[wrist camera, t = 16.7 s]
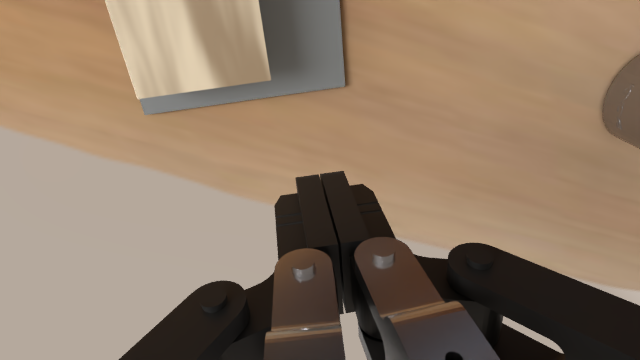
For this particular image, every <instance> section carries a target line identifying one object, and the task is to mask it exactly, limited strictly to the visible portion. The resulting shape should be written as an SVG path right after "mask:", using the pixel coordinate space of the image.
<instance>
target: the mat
mask: <svg viewBox="0 0 640 360" xmlns="http://www.w3.org/2000/svg"><path fill="white" fill-rule="evenodd" d="M258 1H259V7H260V13H261V20H262V26H263V32H264V38H265V45H266V51H267V57H268V64H269V70H270V76H271V80H270V81H263V82H256V83H248V84H241V85H234V86H227V87H220V88H213V89H206V90H199V91H192V92H185V93H178V94H171V95H164V96H156V97H149V98H142V99H140V102H141V105H142V108H143V111H144V114H145V115H148V114H155V113H162V112H169V111H176V110H183V109H190V108H197V107H204V106H211V105H218V104H225V103H232V102H239V101H246V100H253V99H260V98H267V97H274V96H281V95H288V94H295V93H302V92H309V91H316V90H323V89H330V88H337V87H344V86H345V76H344V61H343V46H342V31H341V16H340V1H339V0H258Z"/></svg>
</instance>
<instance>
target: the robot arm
mask: <svg viewBox="0 0 640 360" xmlns="http://www.w3.org/2000/svg"><path fill="white" fill-rule="evenodd" d="M603 120H604V123H605V126H606V128H607V129H608V130H609V132H610V133H611V134H613V135H614V136H616V137H618V138H620V139H622V140H624V141H625V142H627V143H629V144H631V145H633V146H635V147H637V148H639V149H640V54H639V55H638V56H637V57H635V58H634V59H633V60H631V61H630V62H629V63H628V64H627V65H626V66H625V67H624V68H623V69H622V70H621V71H620V73H619V74H618V75H617V77H616V78H615V79H614V81H613V82H612V84H611V86H610V88H609V90H608V92H607V95H606V97H605V100H604V105H603ZM296 186H297V193H296V194H289V195H282V196H280V198H279V199H278V201H277V203H276V204H275V217H276V232H277V246H278V262H277V264H276V266H275V270H274V273H273V274H272V275H271V276H270V277H269V278H268V279H266V280H265V281H263V282H262V283H260V284H258V285H256V286H253V287H251V288H248V289H246V290H244V289H243V288H242V287H241V286H240V285H239V284H236V283H235V282H231V281H216V282H211V283H208V284H206V285H204V286H201V287H200V288H198V289H197V290H195V291H194V292H193V293H192V294H191V295H189V296H188V297H187V298H186V299H185V300H184V301H183V302H182V303H181V304H179V305H178V306H177V307H176V308H175V309H174V310H173V311H172V312H171V313H169V314H168V315H167V316H166V317H165V318H164V319H163V320H162V321H161V322H160V323H159V324H157V325H156V326H155V327H154V328H153V329H152V330H151V331H150V332H149V333H148V334H146V335H145V336H144V337H143V338H142V339H141V340H140V341H139V342H138V343H136V345H134V346H133V347H132V348H131V349H130V350H129V351H128V352H127V353H126V354H124V355H123V356H122V357H121V358H120V359H119V360H345V352H344V344H343V336H342V330H341V324H340V314H344V313H343V303H344V307H345V310H346V313H350V312H356V315H357V319H358V326H359V327H358V329H359V338H360V341H361V343H362V346H363V349H364V352H365V354H366V357H367V360H640V306H639V305H637V304H634V303H632V302H629V301H627V300H624V299H622V298H619V297H617V296H614V295H612V294H609V293H607V292H604V291H602V290H599V289H597V288H594V287H592V286H589V285H587V284H584V283H582V282H580V281H577V280H575V279H572V278H570V277H567V276H565V275H562V274H560V273H557V272H555V271H552V270H550V269H547V268H545V267H542V266H540V265H537V264H535V263H532V262H530V261H527V260H525V259H522V258H520V257H517V256H515V255H513V254H510V253H508V252H505V251H503V250H500V249H498V248H495V247H493V246H490V245H486V244H482V243H465V244H461V245H458V246H456V247H455V248H453V249H452V250H451V251H450V253H449V255H448V259H439V258H427V257H422V256H417V255H415V254H413V253H412V251H411V250H410V249H409V247H408V246H407V245H406V244H405V243H403V242H402V241H400V240H397V239H396V238H395V236H394V234H393V232H392V229H391V227H390V225H389V223H388V221H387V219H386V217H385V215H384V213H383V211H382V209H381V207H380V205H379V203H378V201H377V199H376V196H375V194H374V192H373V191H372V190H370V189H369V188H367V187H366V186H365V185H363V184H359V185H351V186H349V183H348V181H347V178H346V176H345V173H344V171H339V172H332V173H324V174H320V177H319V175H311V176H303V177H296ZM342 299H343V300H342ZM503 316H505V317H507V318H509V319H511V320H513V321H515V322H517V323H519V324H521V325H523V326H525V327H527V328H529V329H531V330H533V331H535V332H537V333H539V334H541V335H543V336H545V337H547V338H549V339H550V340H552V341H554V342H555V343H556V344H557V345H558V346H559V347H560V348H561V349H562V351H563V352H564V354H562V353H559V352H557V351H555V350H553V349H551V348H549V347H547V346H545V345H543V344H542V343H540V342H538V341H536V340H534V339H532V338H530V337H528V336H526V335H524V334H522V333H520V332H518V331H516V330H514V329H513V328H510V327H509V326H507V325H505V324H503V323H502V320H503Z"/></svg>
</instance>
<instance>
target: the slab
mask: <svg viewBox="0 0 640 360" xmlns="http://www.w3.org/2000/svg"><path fill="white" fill-rule="evenodd" d="M105 2H106V5H107V8H108V11H109V15H110V18H111V21H112V24H113V27H114V30H115V33H116V36H117V39H118V42H119V45H120V48H121V51H122V54H123V57H124V60H125V63H126V66H127V69H128V72H129V75H130V78H131V81H132V84H133V87H134V90H135V93H136V96H137V99H142V98H149V97H156V96H164V95H171V94H178V93H185V92H192V91H199V90H206V89H213V88H220V87H227V86H234V85H241V84H248V83H256V82H263V81H270V80H271V76H270V70H269V64H268V57H267V51H266V45H265V38H264V32H263V26H262V20H261V13H260V7H259V1H258V0H105Z"/></svg>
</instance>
